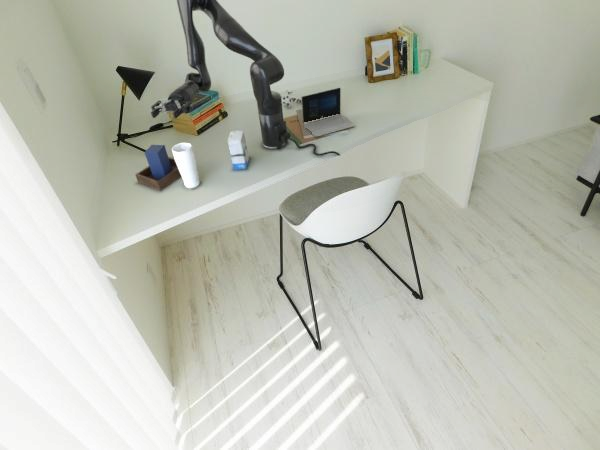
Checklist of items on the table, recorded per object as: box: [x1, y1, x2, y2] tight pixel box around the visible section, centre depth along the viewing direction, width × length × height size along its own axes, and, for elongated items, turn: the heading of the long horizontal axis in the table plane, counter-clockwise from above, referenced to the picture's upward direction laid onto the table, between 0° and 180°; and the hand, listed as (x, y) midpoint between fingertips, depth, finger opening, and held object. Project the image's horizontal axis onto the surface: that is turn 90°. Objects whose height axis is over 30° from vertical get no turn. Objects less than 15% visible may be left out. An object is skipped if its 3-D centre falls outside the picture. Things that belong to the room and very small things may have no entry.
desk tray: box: [134, 156, 182, 192], centre depth 145 cm, size 12×15×4 cm
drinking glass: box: [171, 142, 201, 189], centre depth 136 cm, size 7×7×15 cm
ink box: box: [227, 130, 250, 171], centre depth 146 cm, size 9×5×12 cm, turn 178°
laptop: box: [301, 87, 355, 138], centre depth 164 cm, size 18×12×13 cm
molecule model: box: [281, 89, 302, 109], centre depth 186 cm, size 6×12×8 cm, turn 128°
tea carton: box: [144, 144, 173, 179], centre depth 143 cm, size 5×6×11 cm
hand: (163, 115), depth 143 cm, fingers open, 8 cm apart
